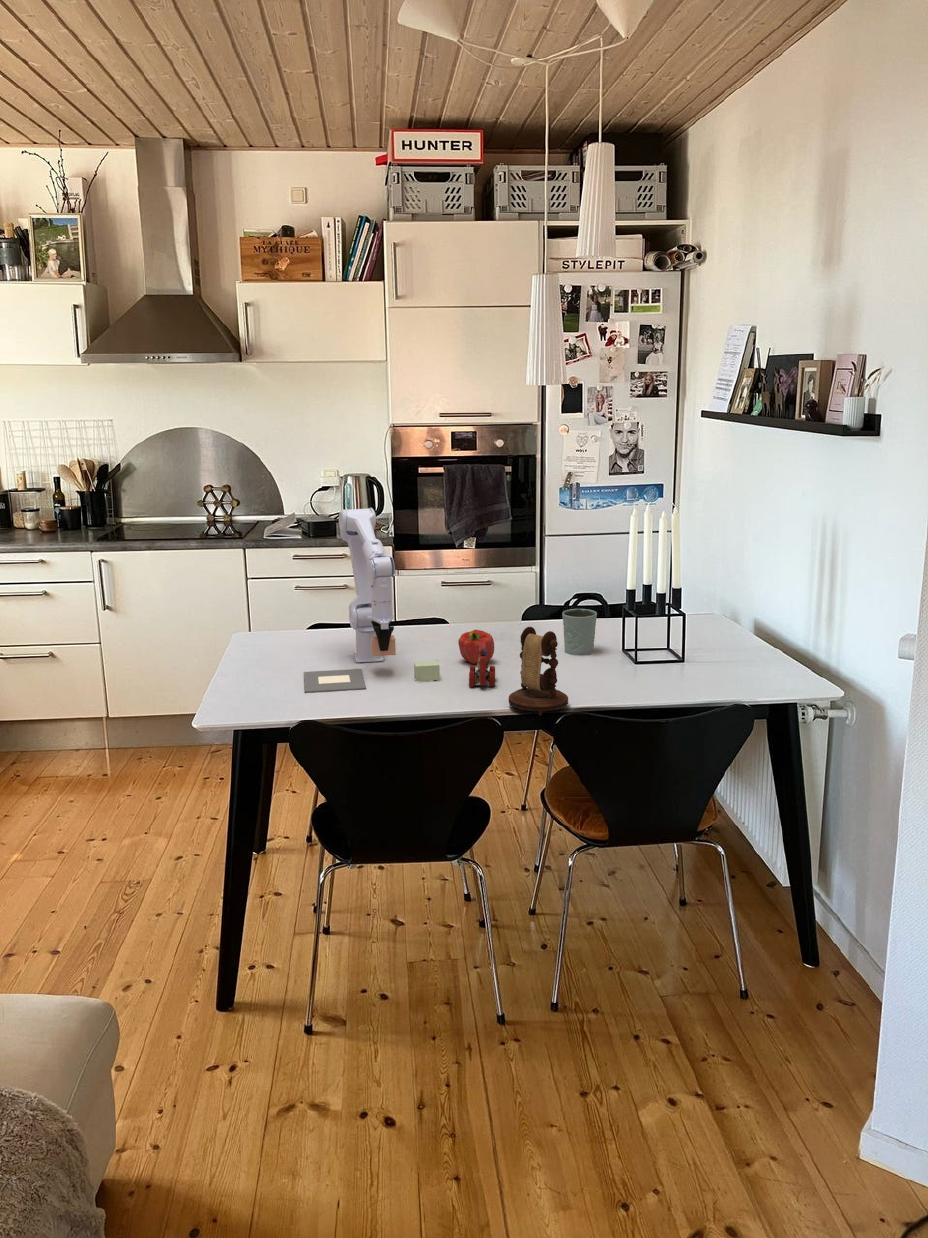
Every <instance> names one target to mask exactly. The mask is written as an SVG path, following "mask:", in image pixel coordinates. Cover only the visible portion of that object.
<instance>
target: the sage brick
mask: <svg viewBox="0 0 928 1238" xmlns="http://www.w3.org/2000/svg"><path fill="white" fill-rule="evenodd" d="M413 669H414V670H413V673H414V674H413V675H414V680H415V679H416V680H415V682H416V681H426V682H431V681H430V680H441V679H440V678H441V677H440V675H441V674H440V669H441V667H440V663H439V661H438V660H426V661H424V660H423V661H413Z"/></svg>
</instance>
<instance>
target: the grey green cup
mask: <svg viewBox="0 0 928 1238" xmlns="http://www.w3.org/2000/svg"><path fill="white" fill-rule="evenodd" d="M561 616H562V625H563V642H564V643H563V644H564V653H566V654H568V655H571V656H589V655H592V654H593V653H594V652H595V651H594V650H595V639H596V638H595V636H596V625H597V616H598V613H597V611H595V610H592V609H589V608H587V609H586V608H572V609H566V610H564V611H562V615H561Z"/></svg>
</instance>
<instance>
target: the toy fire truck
mask: <svg viewBox="0 0 928 1238" xmlns="http://www.w3.org/2000/svg"><path fill="white" fill-rule="evenodd" d="M486 655H487V650H486V642H480V657H479V659H478V664H476V665H470V666H469V673H468V675H469V676H468V687H470V686H474V687H475V686H476V685H480V686H486V682H488V687H490V686H494V687H495V685H496V684H495V683H496V665H489V663H488V662H487V660H486ZM476 667H477V669H476ZM488 668H489V669H488Z"/></svg>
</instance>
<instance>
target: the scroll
mask: <svg viewBox="0 0 928 1238" xmlns="http://www.w3.org/2000/svg"><path fill="white" fill-rule="evenodd" d="M520 645H521V648H520V649H521V652H520V654H519V657H520V659H521V666H520V668H521V669H520V681H521V682H520V687H521V688H518V689H516V690H515V691H513V692H511V693H510V694H509V695H508V704H509V707H510V706H513V707H514V708H516V709H519V710H522V711H530V712H537V715H538V716H539V717H541V716H542V715H543V712H549V711H550V712H551V711H556V710H560V709H562V708H566V707H567V706H568V704H569V696H568V695H567V694H566V693H564V692H563V691H561V690H559V689H556V687H557V683H558V677H557V670H556V669H557V667H558V665H559V660H558V659H557V656H558V655H557V654H558V653H557V652H556V651H557V650H558V648H557V647H558V645H559V644H558V639H557V635H556V633H555V632H554V631H551V630H549V631H547V632H545V633H544V635H539V634H537V631H536V629H535V628H534V627H532V626H527V627H525V628H524V629H523V631H522V633H521V635H520ZM548 657H550V658H548ZM542 663H544V664H545V665H549V666H550V667H548V668H547V669H545V670H544V671H543V673H541V671H542ZM513 707H512V708H513Z"/></svg>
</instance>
